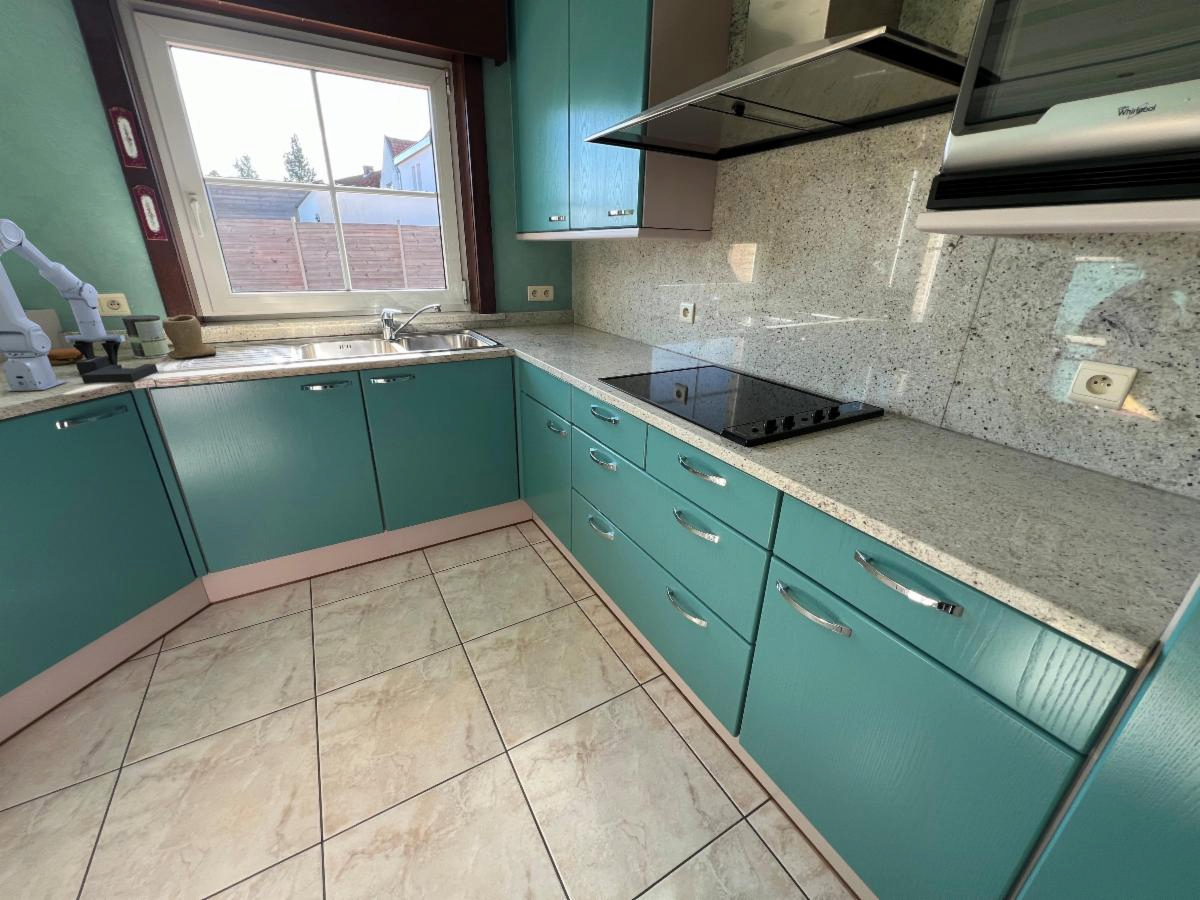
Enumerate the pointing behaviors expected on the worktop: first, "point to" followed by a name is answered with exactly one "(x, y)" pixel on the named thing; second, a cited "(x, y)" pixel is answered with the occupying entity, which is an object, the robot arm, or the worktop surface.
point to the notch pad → (119, 374)
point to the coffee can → (146, 336)
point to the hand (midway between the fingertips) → (104, 364)
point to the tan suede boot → (186, 337)
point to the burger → (64, 356)
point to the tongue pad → (92, 364)
